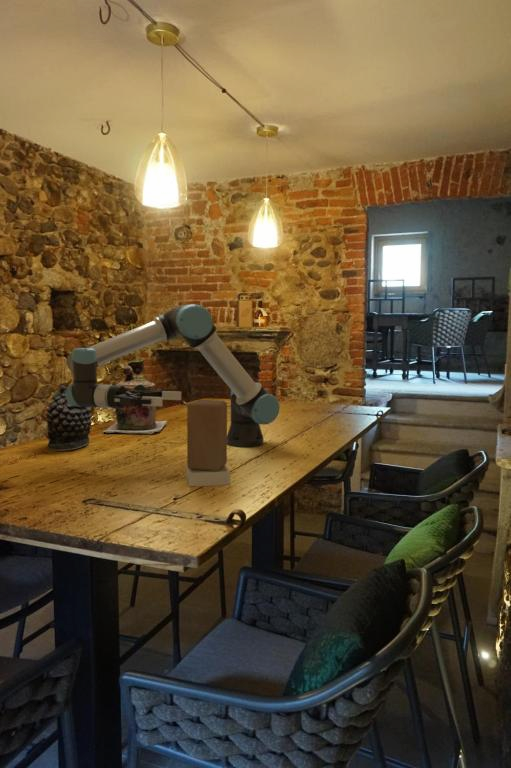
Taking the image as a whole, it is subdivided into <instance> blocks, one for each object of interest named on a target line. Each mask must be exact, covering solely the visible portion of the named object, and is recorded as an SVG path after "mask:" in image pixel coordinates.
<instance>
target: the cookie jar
mask: <svg viewBox="0 0 511 768" xmlns="http://www.w3.org/2000/svg"><path fill="white" fill-rule="evenodd" d="M144 361H145V359H141V360H137V361H135V360H134V361H133V360H132V361H130V362H127V364H126V365H125V367H124V368H123V370H122V373H123V374H124V375H125V378H124V379H123V380H121V381H119V382H118V383H117V384H116V385H122V386H124V387H125V388H126V390H127V391H129V392H130V391H132V390H134V391H155V388H156V384H155V383H154V382H150V381H149V380H148V379H146V378H145V372H146V368H145V364H144ZM114 409H115V410H114V413H115V418H116V421H115V422H114V423H113V424H112V425H110V426H109V427H107V429H105V430H102V434H105V433H108V434H110V433H121V434H146V435H147V434H148V435H152V434H154V433H156V432H157V433H159V432H160V431H161V430H162V429H163V428H164V426H166V424H167V422H168V420H163V421H161V420H160V421H157V420H156V417H157V406H142V404H141V408H137V405H136V406H135V407H134V406H128V405H125V407H124V408H121V409H119V408H114ZM104 432H105V433H104Z"/></svg>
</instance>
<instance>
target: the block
mask: <svg viewBox="0 0 511 768" xmlns="http://www.w3.org/2000/svg"><path fill="white" fill-rule="evenodd" d="M186 407H187V409H186V411H187V413H186V414H187V417H186V418H187V420H186V421H187V422H186V423H187V425H186V426H187V427H186V428H187V429H186V430H187V433H186V435H187V436H186V437H187V439H186V440H187V442H186V443H187V450H186V451H187V454H186V455H187V458H186V460H187V461H186V464H187V466H188V469H192V470H206V471H218V470H219V469H221V468H222V467H223V466H224V465H227V461H228V460H227V459H228V458H227V457H228V448H227V446H228V444H227V434H228V403H227V402H226V401H225V400H208V399H207V400H206V399H205V400H204V399H203V400H202V399H199V400H196V401H193V402H191V403H188V404H187V406H186Z"/></svg>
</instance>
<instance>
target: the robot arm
mask: <svg viewBox="0 0 511 768" xmlns="http://www.w3.org/2000/svg"><path fill="white" fill-rule="evenodd" d="M217 331H218V328H217V326H216V325H215V323H214V322H213V317H212V314H211V313H210V312H209V310H208V309H206V308H205V307H204V306H202V305H199V304H196V303H191V304H189V303H187V304H186V305H178V306H175V307H173V308H171V309H169V310H168V311H165V312H164V313H162V314H160V315H157V316H155V317H153V320H152V321H150V322H148V323H144V324H143V325H140V326H138V327H135V328H133V329H130V330H128V331H125V332H123V333H120V334H118V335H115V336H114V337H111V338H108V339H106V340H102V341H101V342H98V343H95V344H93V345H91V346H89V347H77V348H73V349H72V352H71V353H70V354H69V355H68V357H67V359H66V366H67V368H68V370H69V371H70V372H72V379H73V383H72V384H70V385H67V386H68V388H67V392H66V400H67V402H68V403H69V404H70V405H72V406H78V407H90V408H98V409H100V408H102V409H103V410H104V411H105V410H106V409H116V408H119V409H121V408H124V407H125V405H128V406H134V407H135V406H136V405H137V408H141V404H142V406H156V407H163V406H164V405H163V401H164V400H165V401H168V400H169V401H182V391H169V390H168V391H167V390H166V391H165V390H164V388H161V389H159V390H154V391H134V390H132V391H130V392H129V391H127V390H126V388H125V387H124V386H122V385H117V384H98V377H97V375H98V374H97V373H98V372H97V371H98V369H97V368H98V367H100V366H103V365H105V364H108V363H110V362H112V361H115V360H117V359H120V358H123V357H124V356H127V355H130V354H132V353H134V352H137V351H138V350H141V349H144V348H146V347H149V346H150V345H153V344H155V343H158V342H161V341H163V342H167V341H170V340H173V339H178V338H183V340H184V342H186V343H187V344H188V346H189V347H190V348H191V349H193V350H198V351H199V352H200V353H201V355H202V357H204V359H205V360H206V361H207V362H208V364H209V365H210V366H211V367H212V368H213V370H214V372H216V373H217V375H218V376H219V378H221V379H222V381H223V382H224V383H225V384H226V385H227V386H228V388H229V389H230V425H229V429H228V430H227V446H228V445H229V446H232V447H240V448H241V447H243V448H248V447H249V448H251V447H259V446H261V445H264V435H263V433H262V429H261V425H269V424H271V423H273V422H274V421H275V420H277V418H278V416H279V413H280V402H279V400H278V398H277V397H276V396H275V395H273V394H271V393H269V392H268V391H267V390H266V388H265V387H264V385H262V383H261V382H255V381H254V380H253V379H252V377H251V376H250V375H249V373H248V372H247V371H246V370H245V369H244V367H243V366H242V365H241V363H240V362H239V361H238V360H237V358H236V357H235V356H234V355H233V353H232V352H231V350H230V349H229V348H228V347H227V346H226V344H225V343H224V342H223V340H222V339H221V338H220V337H219V336H218V334H217Z"/></svg>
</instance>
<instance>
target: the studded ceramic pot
mask: <svg viewBox="0 0 511 768" xmlns="http://www.w3.org/2000/svg"><path fill="white" fill-rule="evenodd" d="M68 386H69V383H67V385H66V384H63V383H60V384H59V389H57V390H56V391H55V392H54V394H53V395H52V398H51V401H50V403H49V404H48V405H49V406H48V407H47V408H46V413H45V415H46V417H45V419H46V420H45V421H46V422H47V423H46V426H47V429H48V430H47V432H46V433H45V434H44V438H46V439H48V443H47V448H48V449H49V450H51V451H61V452H62V451H69V450H70V451H71V450H76V449H80V448H83V447H85V446H87V445H89V444H90V437H89V435H90V433H91V429H92V424H93V422H92V409H91V408H92V407H78V406H72V405H70V404H69V403H68V402H67V400H66V392H67V388H68Z"/></svg>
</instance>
